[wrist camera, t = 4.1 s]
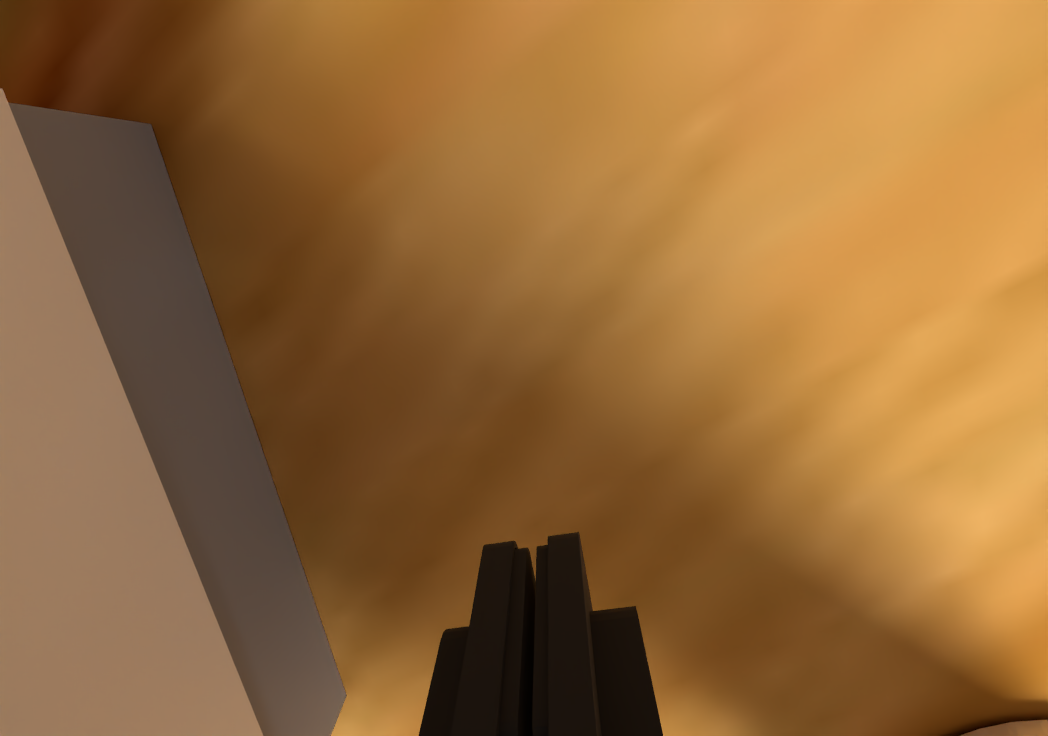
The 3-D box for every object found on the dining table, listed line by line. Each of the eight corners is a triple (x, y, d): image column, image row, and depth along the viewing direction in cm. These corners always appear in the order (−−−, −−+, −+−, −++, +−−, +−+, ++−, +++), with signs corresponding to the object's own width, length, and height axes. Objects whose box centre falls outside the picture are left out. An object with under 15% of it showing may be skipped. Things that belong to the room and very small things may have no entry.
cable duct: (346, 695, 24) (283, 854, 18) (60, 729, 25) (-83, 888, 20) (150, 123, 18) (-36, 95, 12) (-217, 204, 19) (-545, 212, 13)
